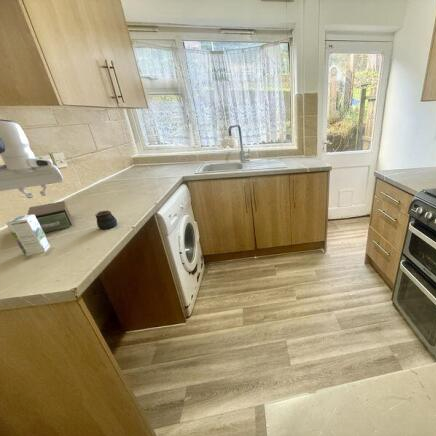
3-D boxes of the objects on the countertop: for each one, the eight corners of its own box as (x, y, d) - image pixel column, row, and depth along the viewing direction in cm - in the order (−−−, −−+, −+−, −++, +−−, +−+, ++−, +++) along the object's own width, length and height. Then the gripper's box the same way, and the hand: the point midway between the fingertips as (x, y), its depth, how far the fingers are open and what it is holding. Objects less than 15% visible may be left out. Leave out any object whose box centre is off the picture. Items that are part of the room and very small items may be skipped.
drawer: (70, 229, 109) (64, 215, 106) (35, 238, 102) (27, 223, 99) (69, 217, 122) (63, 204, 120) (38, 223, 116) (31, 210, 113)
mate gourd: (117, 223, 115) (109, 204, 111) (120, 228, 110) (112, 208, 106) (99, 228, 111) (90, 208, 107) (101, 234, 106) (91, 213, 102)
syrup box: (33, 250, 94) (13, 216, 88) (52, 246, 96) (34, 213, 90) (26, 258, 89) (4, 222, 83) (46, 253, 91) (26, 219, 85)
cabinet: (72, 226, 114) (65, 209, 110) (35, 235, 106) (26, 217, 103) (71, 216, 125) (64, 200, 122) (37, 223, 118) (29, 207, 114)
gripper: (-21, 168, 87) (-1, 204, 93) (55, 160, 99) (68, 192, 105) (-17, 166, 91) (1, 200, 97) (55, 158, 104) (68, 189, 109)
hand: (37, 196), depth 101 cm, fingers open, 3 cm apart
